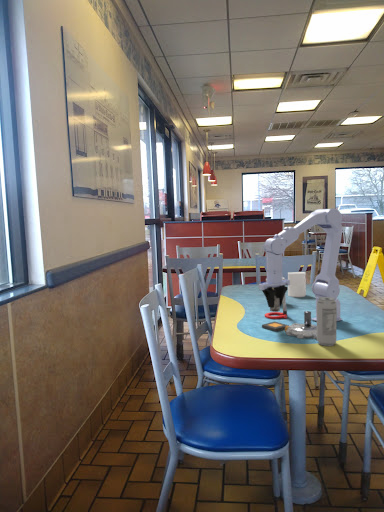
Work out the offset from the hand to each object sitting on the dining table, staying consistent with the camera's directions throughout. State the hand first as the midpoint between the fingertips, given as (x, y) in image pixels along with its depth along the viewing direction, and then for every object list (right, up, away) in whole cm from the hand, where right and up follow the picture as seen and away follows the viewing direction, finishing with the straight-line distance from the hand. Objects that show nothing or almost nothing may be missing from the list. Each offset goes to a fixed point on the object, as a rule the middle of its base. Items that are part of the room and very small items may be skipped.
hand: (274, 306), depth 139 cm
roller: (0, -2, 0) cm, 2 cm away
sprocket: (+9, -9, -6) cm, 14 cm away
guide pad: (0, -8, +1) cm, 8 cm away
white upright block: (+24, -2, +56) cm, 61 cm away
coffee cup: (+10, -4, +42) cm, 43 cm away
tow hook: (+4, -7, +17) cm, 18 cm away
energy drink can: (+13, -10, -18) cm, 24 cm away
